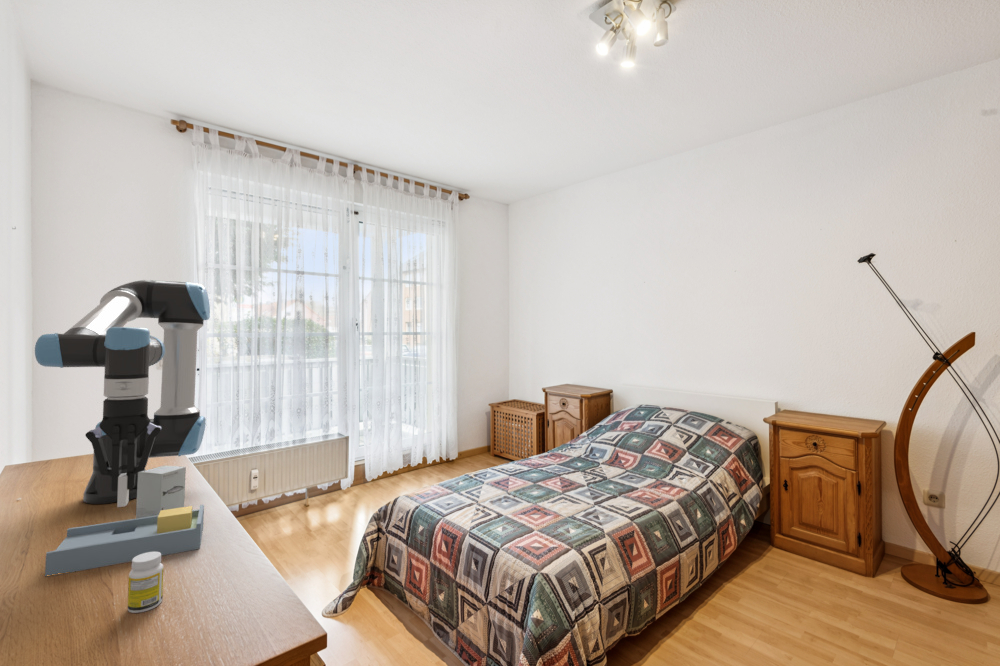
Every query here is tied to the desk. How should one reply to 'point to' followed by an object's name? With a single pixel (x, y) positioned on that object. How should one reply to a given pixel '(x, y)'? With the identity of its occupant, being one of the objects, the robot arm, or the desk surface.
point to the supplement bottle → (145, 582)
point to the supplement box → (160, 490)
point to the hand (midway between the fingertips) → (122, 504)
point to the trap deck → (120, 543)
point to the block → (174, 519)
